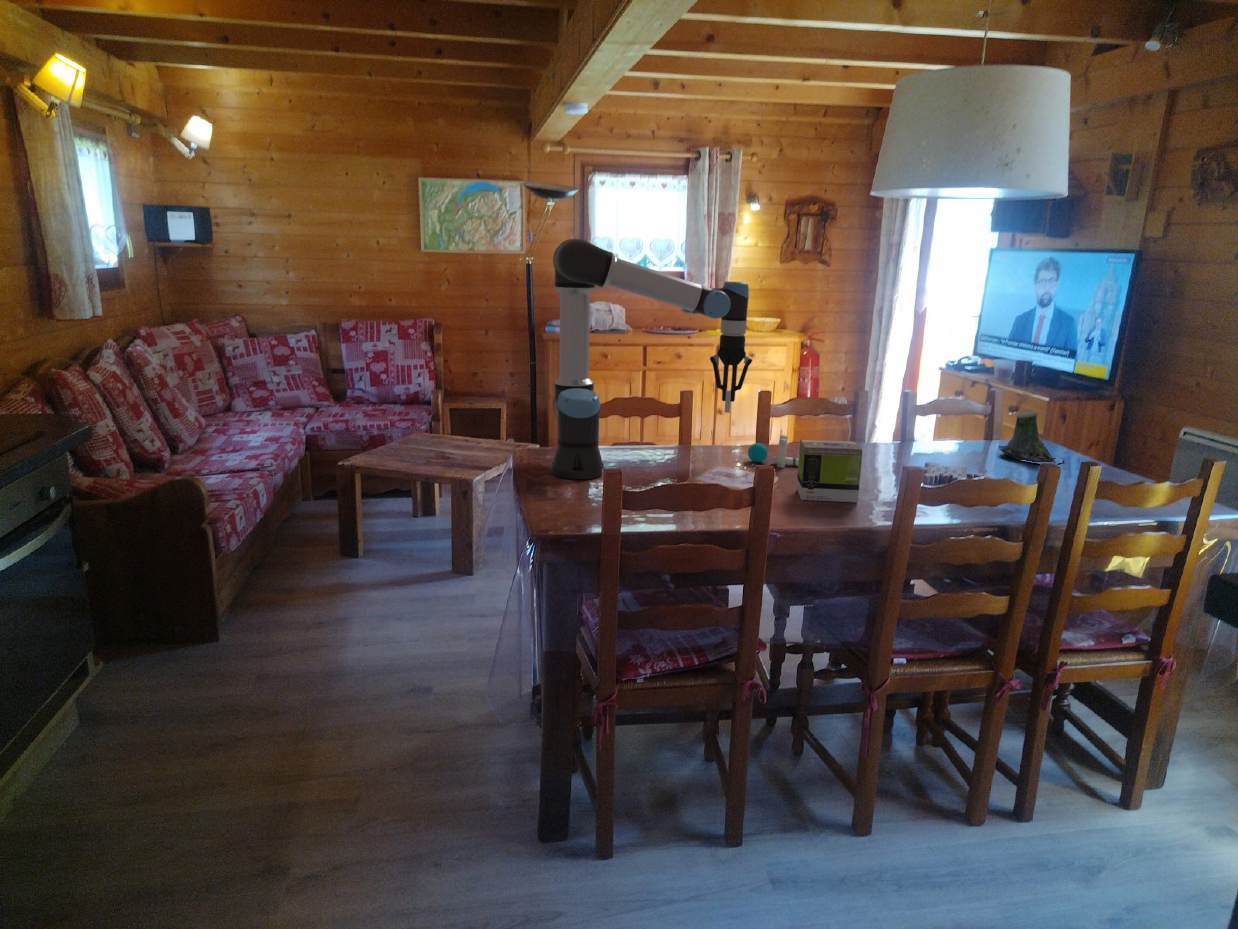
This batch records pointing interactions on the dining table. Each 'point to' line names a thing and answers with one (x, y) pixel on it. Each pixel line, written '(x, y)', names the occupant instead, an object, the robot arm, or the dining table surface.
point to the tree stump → (1027, 441)
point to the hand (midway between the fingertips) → (727, 411)
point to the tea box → (829, 470)
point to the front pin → (788, 461)
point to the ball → (757, 452)
